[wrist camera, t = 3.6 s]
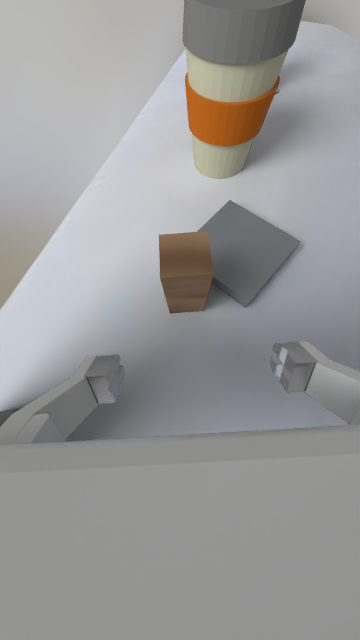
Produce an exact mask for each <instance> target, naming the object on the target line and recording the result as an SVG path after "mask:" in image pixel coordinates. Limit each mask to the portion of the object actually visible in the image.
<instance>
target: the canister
mask: <svg viewBox="0 0 360 640" xmlns="http://www.w3.org/2000/svg"><path fill="white" fill-rule="evenodd" d="M15 412H16V411H10V410H9V411H3V412H0V427H1V426H2V425H3V424H4V423H5V421H6V420H7V419H8V418H9V417H10V416H11V415H12V414H13V413H15Z"/></svg>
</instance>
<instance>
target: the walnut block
mask: <svg viewBox="0 0 360 640" xmlns="http://www.w3.org/2000/svg"><path fill="white" fill-rule="evenodd" d="M159 250H160V279H161V282H162V286H163V290H164V293H165V297H166V300H167V304H168V307H169V311H170V313H180V312H195V311H204V308H205V304H206V301H207V297H208V293H209V289H210V286H211V282H212V278H213V275H214V274H213V266H212V258H211V251H210V243H209V236H208V231H204V232H191V233H178V234H165V235H159Z"/></svg>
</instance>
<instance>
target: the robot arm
mask: <svg viewBox="0 0 360 640" xmlns="http://www.w3.org/2000/svg"><path fill="white" fill-rule="evenodd" d="M273 351H274V354H273V355H272V356H271V360H270V364H271V368H272V371H273V372H274V374H275V375H276V376H278V377H280V381H279V382H280V383H281V384H282V386H283V387H284V389H285V390H286V392H305V393H306V394H308V395H309V396H310V397H312V398H313V399H315V400H316V401H318V402H319V403H320V404H322V405H323V406H325V407H326V408H327V409H329V410H330V411H332V412H333V413H335V414H336V415H337V416H339V417H340V418H342V419H343V420H344V421H346V422H347V423H349V424H350V425H346V426H329V427H311V428H294V429H277V430H260V431H243V432H225V433H207V434H189V435H171V436H154V437H136V438H119V439H101V440H84V441H66V440H65V439H66V438H67V437H68V436H69V435H70V434H71V433H72V432H73V431H74V430H75V429H76V428H77V427H78V426H79V425H80V424H81V423H82V422H83V421H84V420H85V419H86V417H87V416H88V415H89V414H90V413H91V412H92V411H93V410H94V409H95V408H96V407H97V406H98V404H107V403H116V400H117V397H118V394H119V388H118V387H119V386H121V385H122V383H123V379H124V369H123V366H122V365H120V364H119V363H120V360H121V359H120V356H119V355H118V354H99V355H89V356H87V357H86V358H85V360H84V361H83V363H82V364H81V365H80V367H79V368H78V370H77V371H76V373H75V374H74V375H73V377H72V378H68V379H67V380H65V381H63V382H62V383H60V384H59V385H57V386H56V387H54V388H52V389H51V390H49V391H48V392H46V393H45V394H43V395H42V396H40V397H38V398H37V399H35V400H34V401H32V402H31V403H29V404H27V405H26V406H24V407H23V408H21V409H20V410H18V411H16V412H15V413H13V414H12V415H11V416H10V417H9V418H8V419H7V420H6V421H5V423H4V424H3V425H2V426H1V427H0V640H360V371H358V370H355V369H353V368H350V367H348V366H345V365H343V364H340V363H338V362H335V361H330V360H329V359H328V358H327V357H326V356H325V355H323V354H322V353H321V352H320V351H319V350H318V349H316V348H315V347H314V346H313V345H312V344H311V343H309V342H308V341H297V342H288V343H275V345H274V346H273Z"/></svg>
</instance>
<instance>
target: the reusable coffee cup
mask: <svg viewBox="0 0 360 640" xmlns="http://www.w3.org/2000/svg"><path fill="white" fill-rule="evenodd" d="M305 1H306V0H184V22H183V43H184V46H185V47H186V56H187V70H188V72H187V74H186V76H185V86H186V98H187V109H188V121H189V128H190V130H191V132H192V139H193V152H194V164H195V167H196V169H197V170H198V171H199V172H200V173H201V174H203V175H205V176H207V177H210V178H216V179H222V178H228V177H231V176H233V175H235V174H237V173H238V172H239V171H240V170H241V169H242V167H243V165H244V163H245V160H246V158H247V155H248V153H249V150H250V147H251V145H252V142H253V140H254V137H255V136H256V135H257V134H258V133H259V131H260V129H261V127H262V124H263V122H264V119H265V117H266V114H267V112H268V109H269V107H270V104H271V102H272V99H273V97H274V94H275V92H276V89H277V87H278V84H279V79H280V77H279V73H280V70H281V67H282V65H283V62H284V60H285V57H286V55H287V52H288V49H289V48H290V47H291V46H292V45H293V43H294V41H295V39H296V35H297V31H298V27H299V23H300V19H301V16H302V12H303V8H304V4H305Z"/></svg>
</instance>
